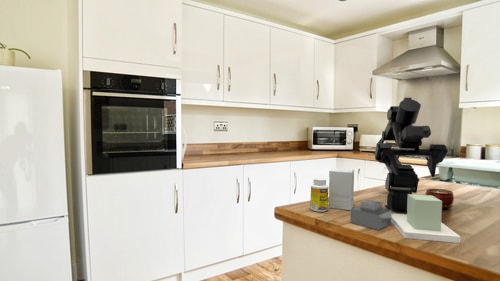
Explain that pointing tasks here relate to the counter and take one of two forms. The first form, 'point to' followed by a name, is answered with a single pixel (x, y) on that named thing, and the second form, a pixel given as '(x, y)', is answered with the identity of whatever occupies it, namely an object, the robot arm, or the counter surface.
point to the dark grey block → (371, 215)
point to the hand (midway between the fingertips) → (415, 175)
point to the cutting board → (423, 231)
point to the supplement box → (341, 188)
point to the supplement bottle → (319, 195)
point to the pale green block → (424, 212)
